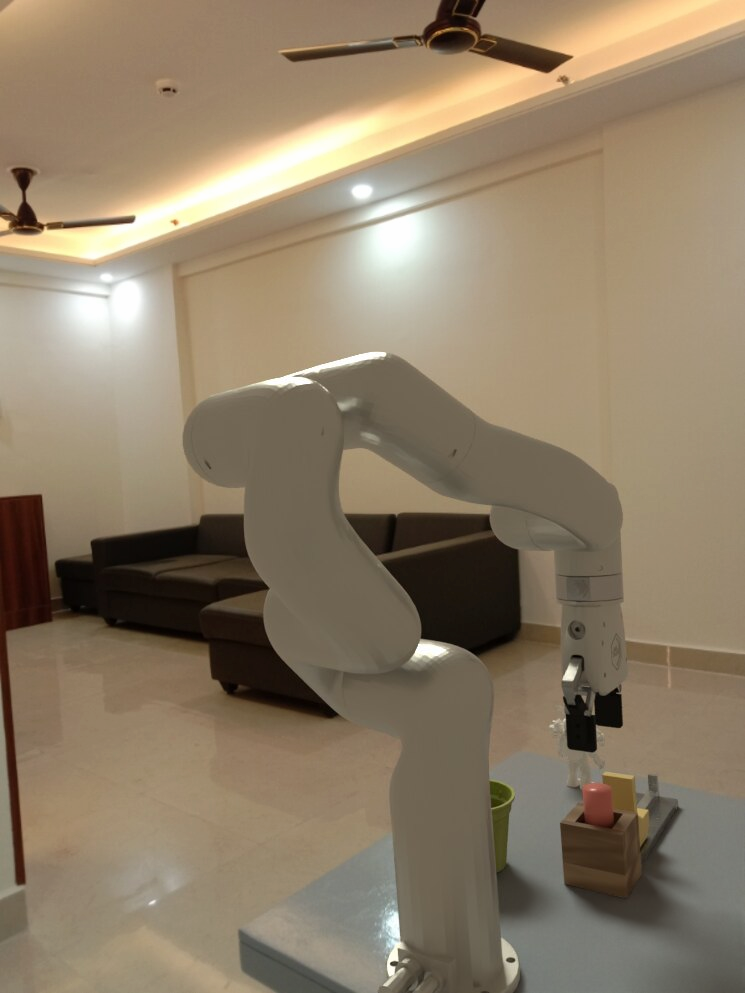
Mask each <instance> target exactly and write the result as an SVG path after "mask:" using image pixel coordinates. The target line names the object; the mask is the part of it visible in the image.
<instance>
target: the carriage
mask: <svg viewBox="0 0 745 993" xmlns="http://www.w3.org/2000/svg"><path fill="white" fill-rule="evenodd" d="M601 777H602V783H603V784H607V785H609V786H610V787H611V788H612V801H613V809H619V810H624V811H630V812H636V813H638V823H639V838H640V847H641V845H642V844H643V842H644V841H645V839H646V838H647V836H648V835H649V826H650V825H649V810H646V809H640V808H637V800H636V793H637V790H636V789H637V788H636V776H635V775H634V774H633V775H631V774H624V773H618V772H613V771H612V772H611V771H604V772H603V773H602V775H601Z"/></svg>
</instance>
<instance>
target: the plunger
mask: <svg viewBox="0 0 745 993" xmlns="http://www.w3.org/2000/svg"><path fill="white" fill-rule="evenodd" d="M582 798H583V799H582V800H583V802H582V803H584V817H585V824H589V825H594V826H599V827H605V828H610V829H612V828H613V827H614V815H613V801H612V788H611V787H610V786H609V785H607V784H603V782H594V783H589V784H586V785H584V786H583V790H582Z"/></svg>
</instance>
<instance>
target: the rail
mask: <svg viewBox="0 0 745 993" xmlns="http://www.w3.org/2000/svg"><path fill="white" fill-rule="evenodd" d="M647 784H648V786H647V787H648V790H647V791H646V792H645V793H640V792H636V800H637V808H640V809H646V810H649V825H650V826H649V835H648V836H647V838H646V839H645V841H644V842H643V844H642V845H641V847H640V852H641V867H642V866H643V864H644V862H646V860H647V858H648V856H649V855H650V853H651V851H652V849H653V848H654V847H655V845H656V843H657V841H658V840H659V839H660V837H661V835H662V833H663V832H664V830H665V829H666V827H667V826H668V824H669V823H670V821H671V819H672V817H673V816H674V814H675V812H676V811H677V809H678V808H679V801H678V798H673V797H672V798H671V797H666V796H660V786H659V775H658V774H657V773H656V774H655V773H647ZM677 807H678V808H677ZM676 808H677V809H676ZM675 810H676V811H675Z"/></svg>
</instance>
